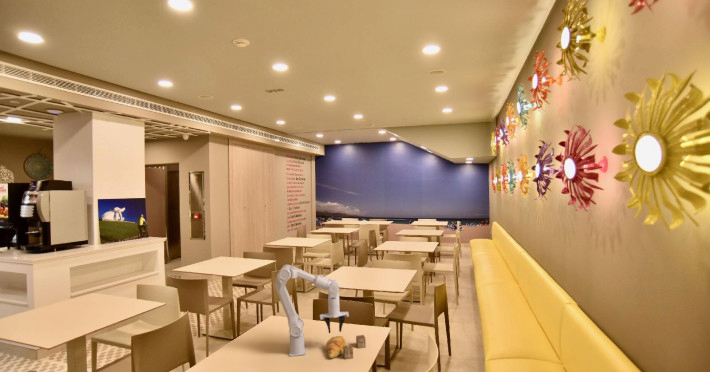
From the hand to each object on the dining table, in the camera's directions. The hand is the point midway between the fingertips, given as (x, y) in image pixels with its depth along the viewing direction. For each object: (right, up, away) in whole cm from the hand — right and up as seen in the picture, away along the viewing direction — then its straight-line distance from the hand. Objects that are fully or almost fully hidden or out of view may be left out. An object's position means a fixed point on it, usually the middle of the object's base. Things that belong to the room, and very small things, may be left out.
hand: (334, 331), depth 186 cm
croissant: (+1, -10, 0) cm, 10 cm away
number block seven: (+13, -9, +4) cm, 17 cm away
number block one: (+7, -9, -8) cm, 14 cm away
